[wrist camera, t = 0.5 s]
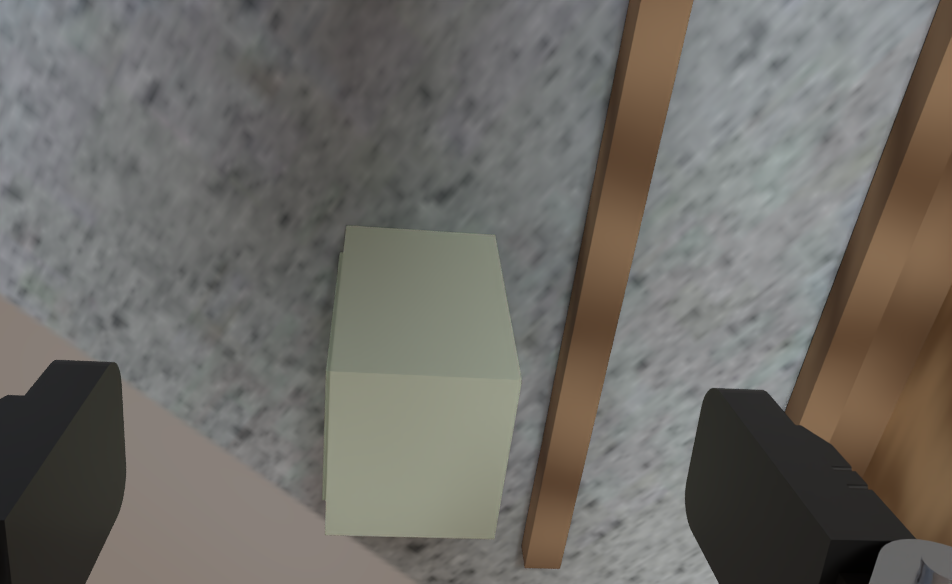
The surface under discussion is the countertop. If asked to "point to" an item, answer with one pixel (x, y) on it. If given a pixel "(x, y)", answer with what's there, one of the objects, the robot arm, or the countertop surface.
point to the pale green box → (418, 386)
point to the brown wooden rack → (843, 319)
